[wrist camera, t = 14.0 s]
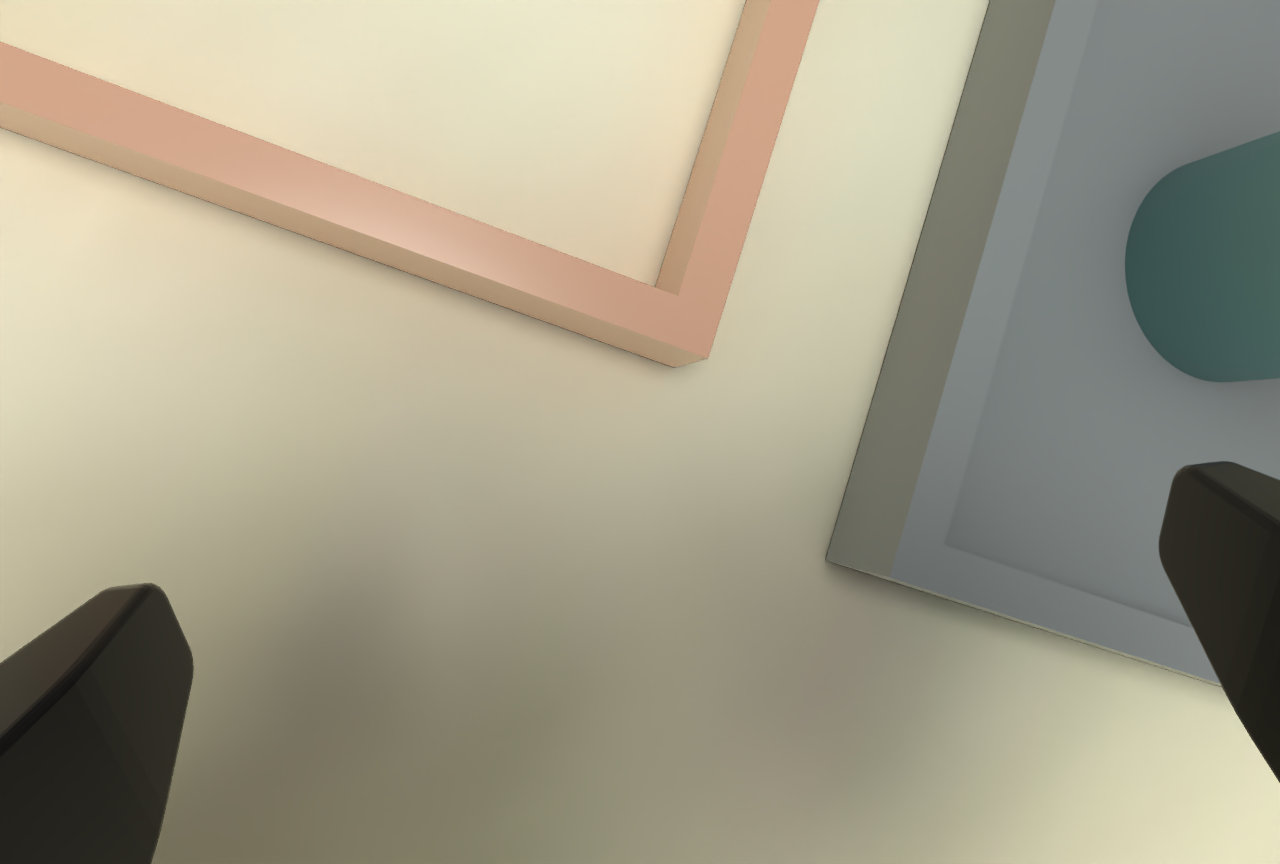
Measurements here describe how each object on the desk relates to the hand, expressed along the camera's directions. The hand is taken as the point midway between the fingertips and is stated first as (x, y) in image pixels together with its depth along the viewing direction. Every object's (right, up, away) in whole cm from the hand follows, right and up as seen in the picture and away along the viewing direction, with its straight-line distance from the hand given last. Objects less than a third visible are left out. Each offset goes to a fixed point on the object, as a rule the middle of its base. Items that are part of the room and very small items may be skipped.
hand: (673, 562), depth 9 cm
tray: (+11, +4, +12) cm, 17 cm away
